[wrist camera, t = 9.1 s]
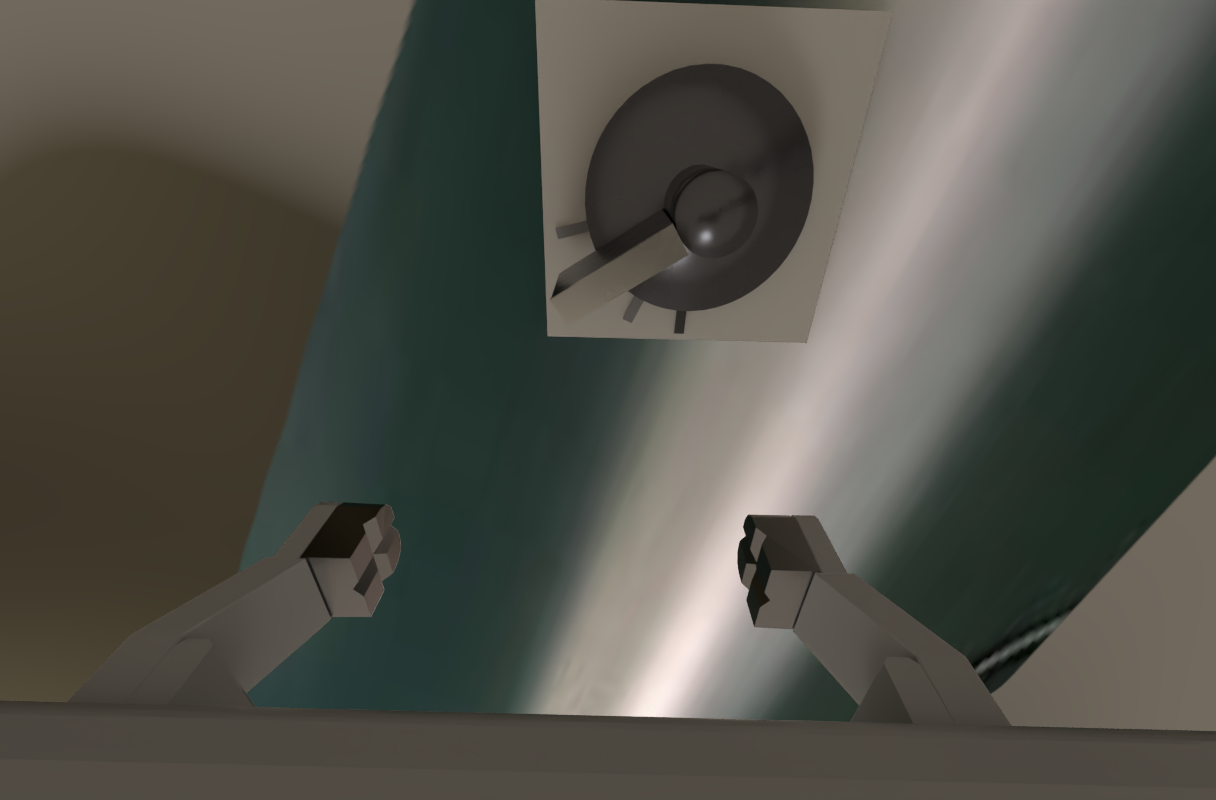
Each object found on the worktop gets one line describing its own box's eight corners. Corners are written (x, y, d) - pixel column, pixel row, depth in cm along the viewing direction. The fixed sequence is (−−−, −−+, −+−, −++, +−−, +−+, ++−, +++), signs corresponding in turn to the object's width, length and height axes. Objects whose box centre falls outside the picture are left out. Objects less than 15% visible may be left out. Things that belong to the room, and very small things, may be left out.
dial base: (874, 19, 20) (895, 10, 18) (796, 332, 27) (807, 343, 25) (539, 6, 19) (534, -4, 18) (550, 326, 26) (547, 337, 25)
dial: (754, 7, 18) (803, -34, 14) (834, 237, 22) (891, 264, 18) (506, 184, 21) (479, 198, 17) (618, 356, 25) (621, 404, 21)
